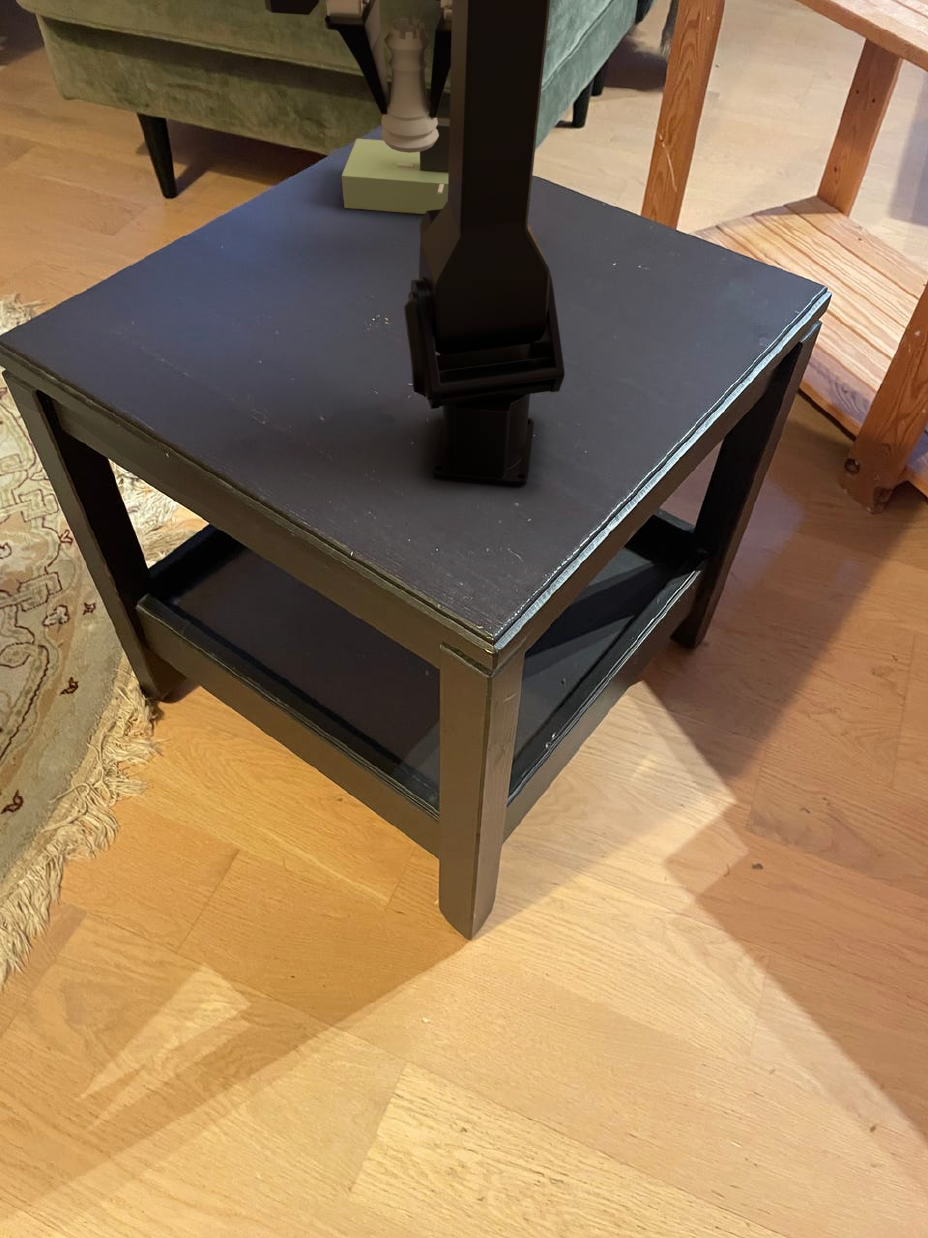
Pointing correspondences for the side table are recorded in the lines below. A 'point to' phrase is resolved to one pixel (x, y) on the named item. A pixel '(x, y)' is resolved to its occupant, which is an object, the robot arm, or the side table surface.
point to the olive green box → (391, 180)
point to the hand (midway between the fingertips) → (409, 113)
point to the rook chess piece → (408, 90)
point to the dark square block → (437, 150)
